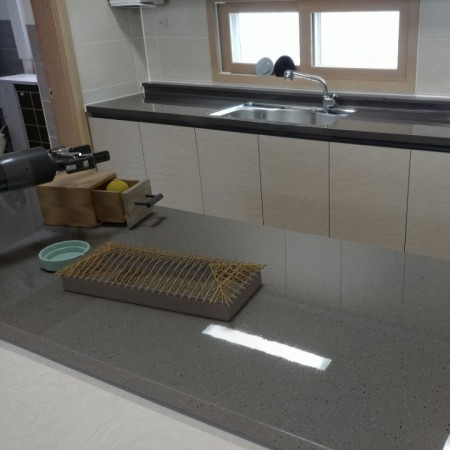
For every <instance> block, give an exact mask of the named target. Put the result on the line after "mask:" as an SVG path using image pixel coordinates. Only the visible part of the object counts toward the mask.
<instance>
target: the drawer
mask: <svg viewBox="0 0 450 450" xmlns="http://www.w3.org/2000/svg"><path fill="white" fill-rule="evenodd" d="M117 179H118V180H120V181H123V182H125V183H126V184H127V185H128V187H129V189H127V190H126V191H124V192H123V193H122V197H123V203H124V208H125V209H124V211H123V205H122V200H121V194H120V191H106V189H107V186H108V185H109V184H110V183H111V182H112V181H114V180H115V179H113V178H111V179H110V180H108V181H106V182H104V183H103V184H101V185H99V186H97V187H95V188H94V189H92V190H90V191H91V196H92V201H93V206H94V211H95V216H96V221H105V222H106V223H120V224H123V223H125V222H126V225H127V226H128V227H133V226H134V225H135V224H137V223H138V222H139V221H140V220H142V219H143V218H145V217H146V216H147V215H149V214H150V213H151V212H153V211H154V210H155V205H156V204H158V202H160V201H161V200H163V199H164V194H163V193H161V192H159V193H157V194H153V191H152V184H151V178H148V177H145V178H143V179H142V180H139V179H132V178H117ZM105 222H104V223H105Z"/></svg>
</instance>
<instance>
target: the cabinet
mask: <svg viewBox="0 0 450 450" xmlns="http://www.w3.org/2000/svg"><path fill="white" fill-rule="evenodd" d="M111 178H113V179H118V174H117V172H112V171H94V170H93V171H92V170H91V171H90V170H85V171H81V172H76V173H72V174H67V173H66V172H60V173H58V174H57V175H56V174H55V177H54V180H53V181H52V182H50V183H46V184H42V185H38V186H34V187H35V191H36V194H37V199H38V203H39V207H40V212H41V216H42V219H43V224H44V225H48V226H49V225H50V226H63V227H65V226H64V225H67V226H66V227H78V226H81V227H80V228H91V229H93V228H92V227H96V228H98V227H99V226H100V225H102V224H104V223H105V222H103V221H96V216H95V211H94V206H93V201H92V196H91V191H90V190H92V189H94V188H95V187H97V186H99V185H101V184H103V183H104V182H106V181H108V180H110V179H111ZM102 222H103V223H102ZM101 223H102V224H101ZM99 224H100V225H99ZM98 225H99V226H98ZM78 228H79V227H78Z"/></svg>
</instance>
